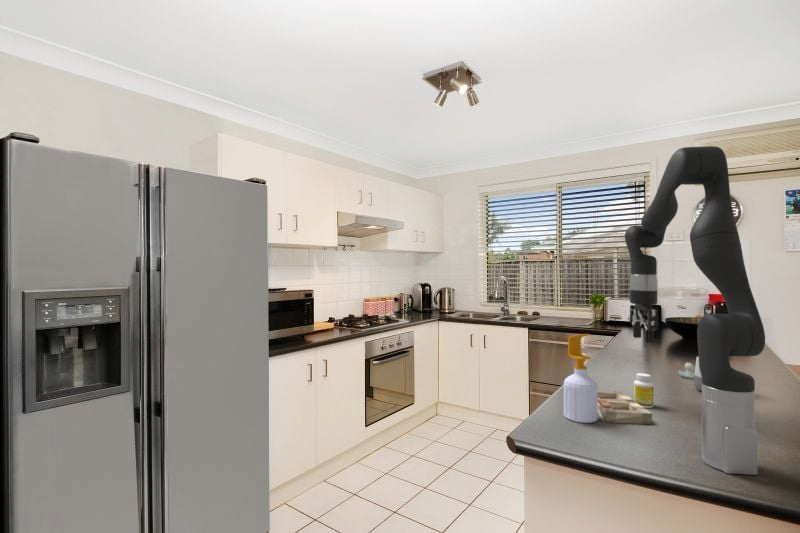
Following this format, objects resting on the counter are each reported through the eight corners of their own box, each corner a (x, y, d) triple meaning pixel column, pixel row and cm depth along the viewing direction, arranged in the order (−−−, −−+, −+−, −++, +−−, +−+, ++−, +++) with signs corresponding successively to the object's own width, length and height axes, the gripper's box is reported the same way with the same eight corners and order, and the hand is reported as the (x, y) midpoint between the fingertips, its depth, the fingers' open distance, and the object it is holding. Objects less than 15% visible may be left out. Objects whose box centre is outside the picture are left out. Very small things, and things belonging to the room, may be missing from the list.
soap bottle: (577, 425, 115) (577, 336, 116) (557, 413, 124) (557, 331, 124) (604, 421, 118) (604, 334, 118) (582, 411, 127) (582, 330, 127)
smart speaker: (705, 387, 152) (705, 349, 152) (733, 394, 144) (733, 353, 144) (687, 390, 149) (687, 350, 149) (715, 397, 140) (715, 355, 140)
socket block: (651, 424, 116) (651, 409, 116) (606, 422, 117) (606, 408, 117) (620, 400, 137) (620, 388, 137) (582, 399, 138) (582, 387, 138)
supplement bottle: (656, 409, 129) (656, 377, 129) (637, 407, 130) (637, 376, 130) (649, 403, 134) (649, 372, 134) (631, 402, 135) (631, 372, 135)
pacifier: (680, 375, 171) (677, 377, 166) (680, 360, 171) (677, 361, 166) (702, 378, 165) (699, 381, 161) (702, 362, 166) (699, 364, 161)
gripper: (667, 290, 124) (667, 344, 124) (645, 287, 138) (645, 336, 138) (640, 290, 125) (640, 344, 125) (621, 287, 139) (621, 335, 139)
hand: (643, 339), depth 132 cm, fingers open, 8 cm apart
